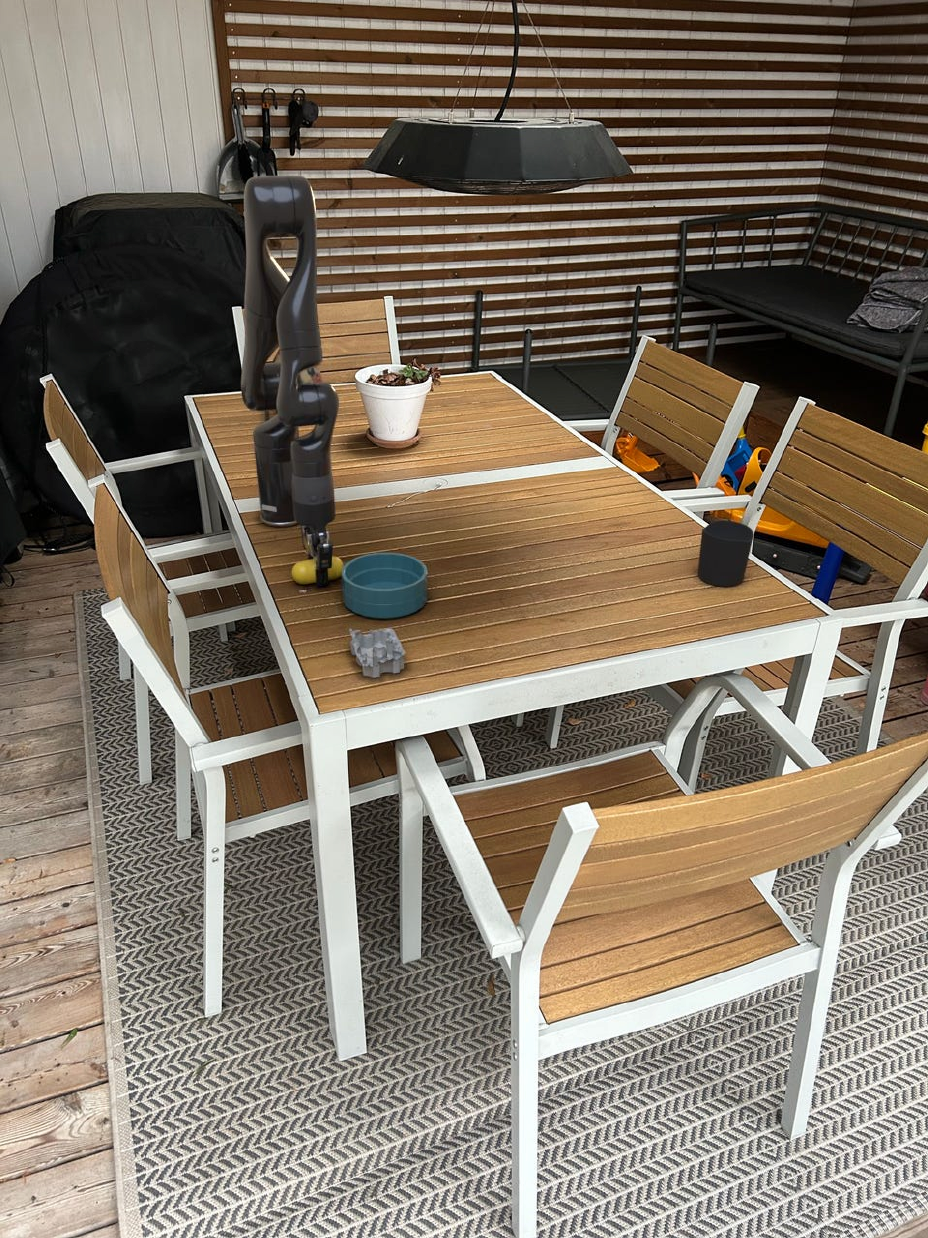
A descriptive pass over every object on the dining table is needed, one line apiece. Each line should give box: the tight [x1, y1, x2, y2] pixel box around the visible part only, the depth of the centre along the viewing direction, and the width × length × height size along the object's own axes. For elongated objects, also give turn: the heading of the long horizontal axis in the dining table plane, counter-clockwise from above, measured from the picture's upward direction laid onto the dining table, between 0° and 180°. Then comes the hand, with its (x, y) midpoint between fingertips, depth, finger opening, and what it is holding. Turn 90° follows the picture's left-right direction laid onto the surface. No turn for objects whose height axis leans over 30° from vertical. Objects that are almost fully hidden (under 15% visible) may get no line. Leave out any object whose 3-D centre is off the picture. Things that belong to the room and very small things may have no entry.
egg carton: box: [348, 627, 407, 679], centre depth 153 cm, size 11×8×4 cm
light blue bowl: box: [341, 552, 428, 620], centre depth 171 cm, size 15×15×6 cm
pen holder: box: [697, 519, 755, 588], centre depth 181 cm, size 9×9×10 cm
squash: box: [291, 555, 349, 586], centre depth 178 cm, size 11×4×4 cm, turn 114°
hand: (318, 579), depth 178 cm, fingers closed on squash, 4 cm apart
